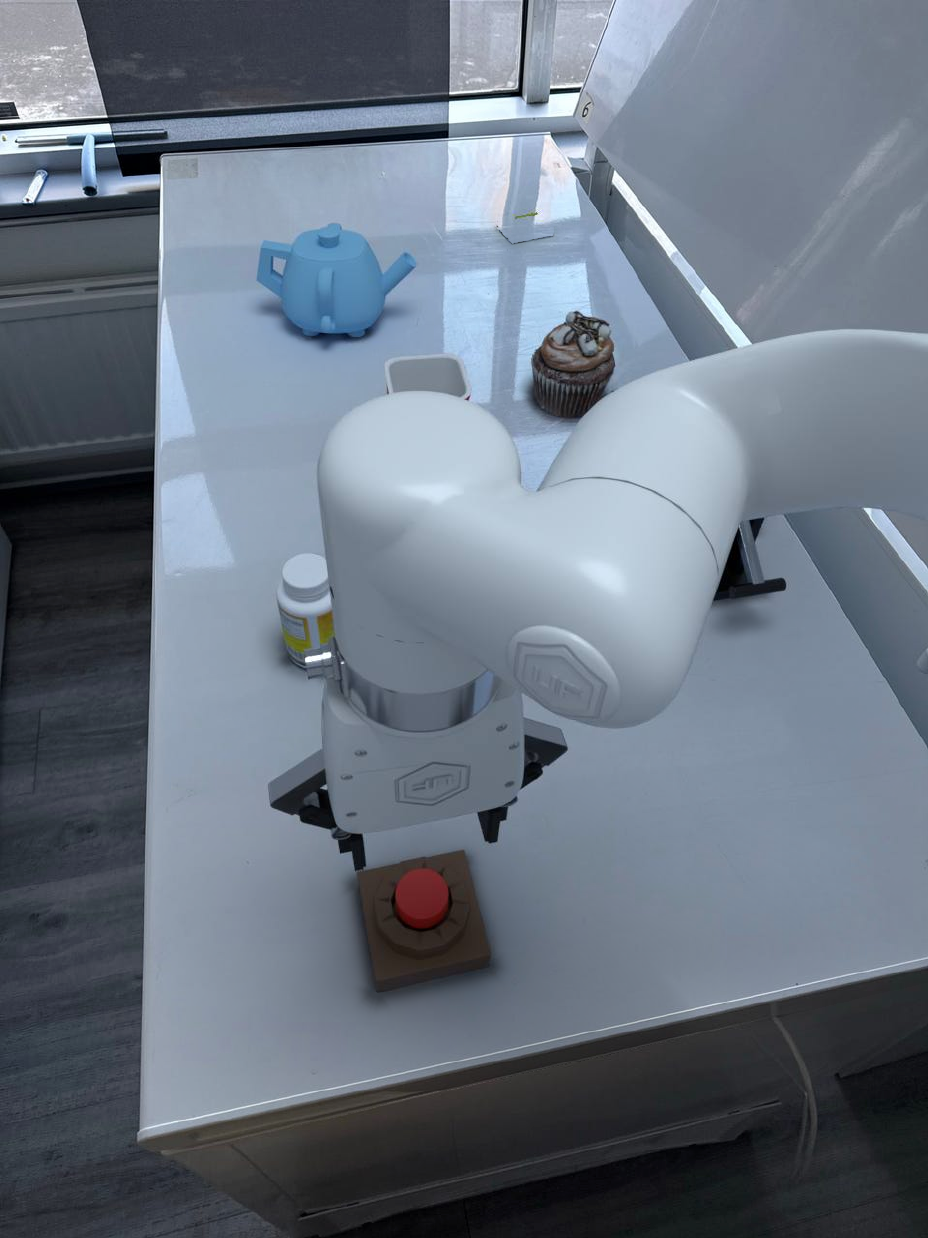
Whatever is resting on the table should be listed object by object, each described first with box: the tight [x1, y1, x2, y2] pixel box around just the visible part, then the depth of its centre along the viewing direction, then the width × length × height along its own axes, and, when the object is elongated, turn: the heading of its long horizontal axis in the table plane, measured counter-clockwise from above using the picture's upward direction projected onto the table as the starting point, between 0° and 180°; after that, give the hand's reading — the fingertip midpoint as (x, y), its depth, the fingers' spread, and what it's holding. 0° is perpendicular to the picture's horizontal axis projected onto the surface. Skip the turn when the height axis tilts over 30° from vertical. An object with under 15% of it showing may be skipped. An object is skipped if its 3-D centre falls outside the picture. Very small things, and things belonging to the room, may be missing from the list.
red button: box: [395, 868, 449, 929], centre depth 61 cm, size 4×4×2 cm
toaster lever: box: [729, 520, 787, 600], centre depth 81 cm, size 11×5×2 cm, turn 14°
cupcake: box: [530, 310, 616, 419], centre depth 103 cm, size 10×10×10 cm
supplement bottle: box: [275, 553, 334, 669], centre depth 77 cm, size 6×6×10 cm
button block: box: [356, 849, 492, 993], centre depth 63 cm, size 8×8×4 cm
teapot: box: [256, 222, 418, 338], centre depth 112 cm, size 20×17×12 cm
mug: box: [383, 353, 472, 401], centre depth 93 cm, size 12×8×11 cm
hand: (421, 833), depth 54 cm, fingers open, 7 cm apart
